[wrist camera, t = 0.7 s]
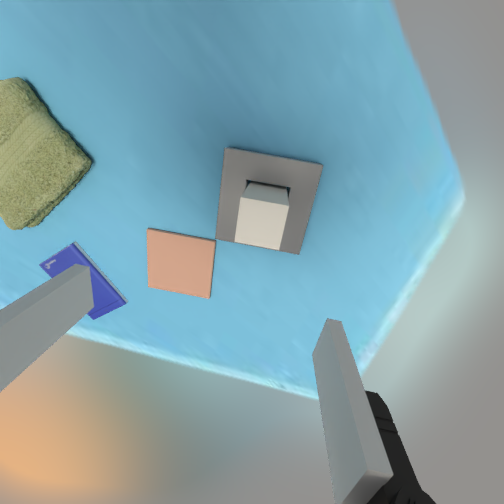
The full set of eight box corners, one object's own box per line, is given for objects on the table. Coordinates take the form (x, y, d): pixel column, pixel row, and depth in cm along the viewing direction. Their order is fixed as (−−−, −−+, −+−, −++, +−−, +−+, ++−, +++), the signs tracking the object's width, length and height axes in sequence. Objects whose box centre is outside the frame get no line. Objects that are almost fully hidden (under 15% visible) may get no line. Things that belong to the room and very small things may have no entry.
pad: (148, 227, 36) (146, 229, 35) (216, 240, 35) (215, 242, 35) (150, 284, 40) (148, 286, 39) (210, 296, 40) (209, 298, 39)
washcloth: (-44, 158, 35) (-74, 160, 32) (24, 70, 29) (-5, 63, 26) (32, 232, 39) (12, 240, 36) (105, 168, 33) (88, 171, 30)
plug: (251, 180, 31) (240, 197, 22) (286, 186, 31) (289, 206, 22) (246, 213, 33) (234, 241, 24) (279, 219, 33) (279, 250, 24)
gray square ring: (228, 146, 30) (224, 147, 28) (320, 163, 30) (323, 165, 27) (219, 232, 35) (215, 238, 33) (297, 247, 35) (299, 254, 32)
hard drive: (37, 265, 39) (91, 320, 43) (70, 244, 37) (125, 304, 41) (45, 261, 41) (97, 315, 45) (78, 240, 38) (130, 299, 42)
